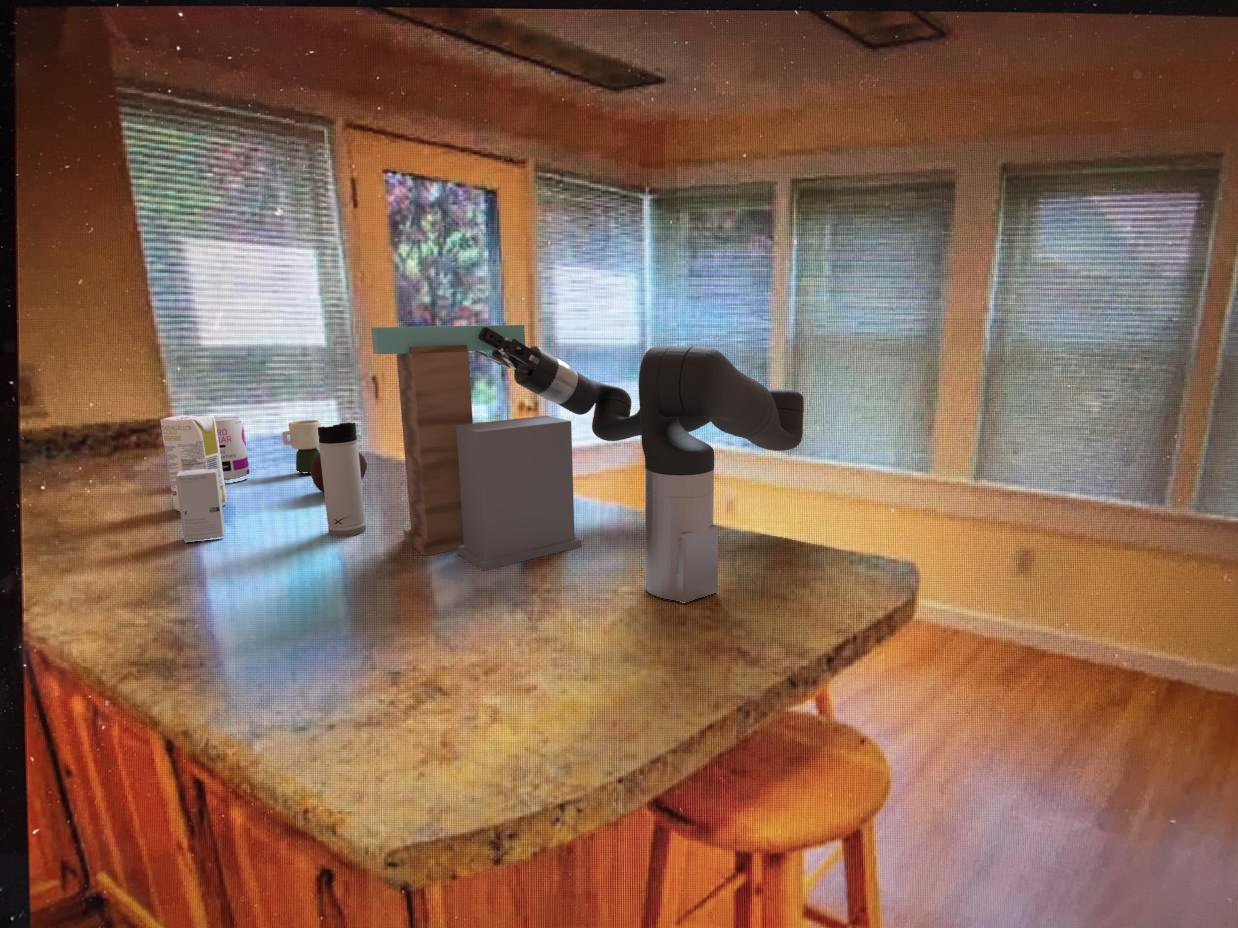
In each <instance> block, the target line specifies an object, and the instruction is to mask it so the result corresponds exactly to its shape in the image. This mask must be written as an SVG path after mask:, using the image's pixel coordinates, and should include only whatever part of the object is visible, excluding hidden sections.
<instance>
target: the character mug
mask: <svg viewBox="0 0 1238 928" xmlns="http://www.w3.org/2000/svg"><path fill="white" fill-rule="evenodd" d="M318 427H322V426H321V421H320V420H319V419H318V420H315V419H305V420H304V419H303V420H296V421H295V420H294V421H291V422H288V429H289V430H288V431H283V432H282V434H281V435H282V442H283V445H285V446H289V445H291V448H292V449H294V450H297V451H296V456H295V471H296V470H297V471H299V472H311V466H312V463H313V460H314V459H315V458H316V456H317V455H318V454H319V453H320V450H318V449H319V446H320V445H319V436H318ZM288 436H289V439H290V440H288ZM299 472H298V473H299Z"/></svg>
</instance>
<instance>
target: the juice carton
mask: <svg viewBox="0 0 1238 928" xmlns="http://www.w3.org/2000/svg"><path fill="white" fill-rule="evenodd" d="M215 418H216V417H215V415H214V414H209V415H200V416H199V415H192V414H191V415H190V414H180V415H174V416H169V417H164V418H160V426H161V427H160V428H161V435H162V440H163V448H164V451H165V452H164V453H165V454H164V455H165V459H166V467H167V472H168V478H169V484H170V489H171V496H172V502H173V507H174V510H175V509H180V505H179V497H178V490H177V482H176V475H177V474H178V472H179V471H187V470H198V469H214V468H217V469H218V474H219V483H220V491H221V500H222V503H223V502H227V492H226V491H227V490H226V484H225V483H224V476H223V469H222V462H221V455H220V448H219V441H218V434H217V428H216V423H215Z"/></svg>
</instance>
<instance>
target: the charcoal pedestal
mask: <svg viewBox="0 0 1238 928" xmlns="http://www.w3.org/2000/svg"><path fill="white" fill-rule="evenodd" d="M456 432H457V448H458V463H459V478H460V493H461V508H462V523H463V538H464V545H462V546H457V547H458V549H457V554H458V555H460V556H461V557H462V558H463V559H465V560H466V561H468V562H470V563H471V565H472V564H473V565H474V566H476V567H477V568H478V569H479V570H481V571H482V572H483V571H487V570H488V571H489V570H492V569H496V568H499V567H504V566H509V565H512V564H516V563H520V562H524V561H529V560H532V559H533V560H534V559H537V558H542V557H545V556H550V555H554V554H557V553H561V552H565V551H569V550H574V549H577V548H578V549H579V548H581V547H582V539H580V538H578V537H577V536H575V534H576V533H575V506H574V505H575V504H574V499H575V498H574V473H573V472H574V471H573V441H572V439H573V438H572V432H573V431H572V420H568V419H563V418H559V417H554V416H551V415H539V416H538V415H537V416H530V417H520V418H513V419H512V418H511V419H505V420H504V419H503V420H494V421H484V422H477V423H476V422H475V423H474V422H473V424H464V425H456Z"/></svg>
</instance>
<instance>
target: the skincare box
mask: <svg viewBox="0 0 1238 928" xmlns="http://www.w3.org/2000/svg"><path fill="white" fill-rule="evenodd" d="M176 482H177V490H178V497H179V505H180V512H179V513H180V518H181V528H182V533H183V534H182V535H183V542H184V541H192V540H204V539H210V538H217V537H222V536H223V535H224V536H225V534H224V532H225V533H226V526H225V518H224V510H223V507H222V500H221V491H220V483H219V474H218V469H217V468H214V469H198V470H187V471H179V472H178V474H177V475H176Z"/></svg>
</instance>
